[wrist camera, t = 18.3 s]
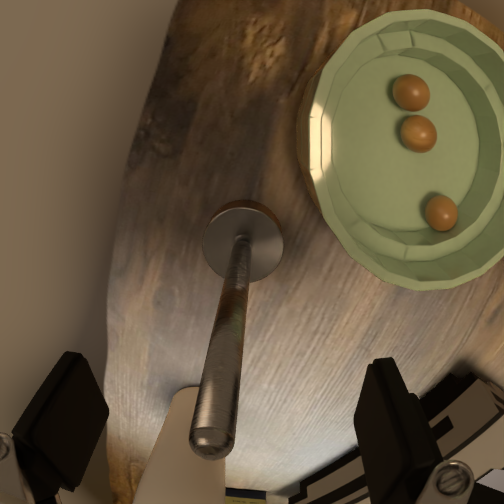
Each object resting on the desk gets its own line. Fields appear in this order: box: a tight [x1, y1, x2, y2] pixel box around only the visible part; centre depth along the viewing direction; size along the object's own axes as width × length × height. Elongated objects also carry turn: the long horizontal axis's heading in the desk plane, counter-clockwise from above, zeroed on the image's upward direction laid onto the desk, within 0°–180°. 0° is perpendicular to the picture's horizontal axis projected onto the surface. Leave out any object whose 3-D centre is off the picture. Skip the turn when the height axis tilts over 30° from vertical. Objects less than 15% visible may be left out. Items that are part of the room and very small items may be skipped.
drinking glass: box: [133, 387, 225, 504], centre depth 21 cm, size 7×7×15 cm
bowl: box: [296, 9, 504, 291], centre depth 16 cm, size 15×15×6 cm
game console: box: [288, 371, 504, 504], centre depth 29 cm, size 21×32×8 cm, turn 146°
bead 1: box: [392, 74, 430, 112], centre depth 16 cm, size 2×2×2 cm
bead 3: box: [425, 195, 458, 231], centre depth 18 cm, size 2×2×2 cm
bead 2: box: [400, 115, 437, 153], centre depth 17 cm, size 2×2×2 cm
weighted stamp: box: [189, 200, 284, 461], centre depth 14 cm, size 5×5×16 cm
